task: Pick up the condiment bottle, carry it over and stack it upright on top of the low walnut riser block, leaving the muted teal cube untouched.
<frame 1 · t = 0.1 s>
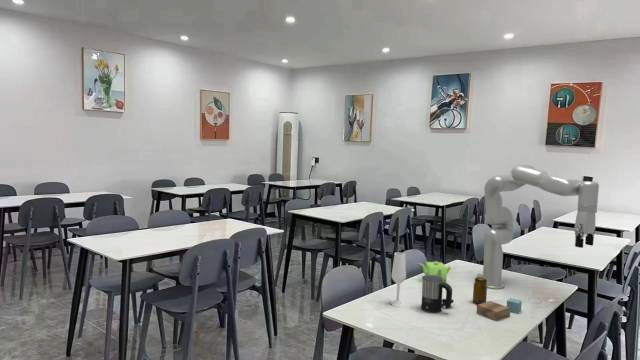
hand: (584, 246, 201), 31 cm above the table, fingers open, 9 cm apart
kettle: (434, 282, 243), on the table
milk frother: (436, 308, 204), on the table
walnut riser: (493, 315, 197), on the table
condiment: (480, 304, 211), on the table
champagne flute: (397, 304, 207), on the table
teal cube: (513, 311, 203), on the table
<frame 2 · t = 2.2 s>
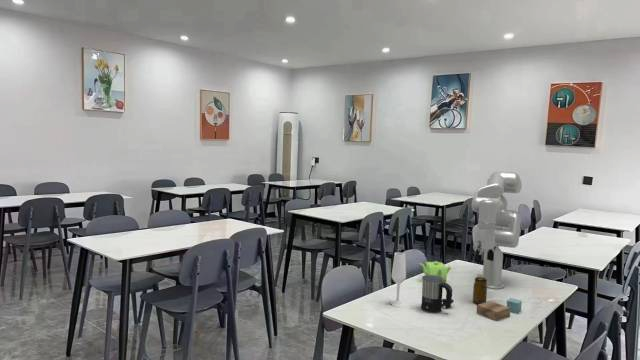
hand: (484, 261, 210), 21 cm above the table, fingers open, 9 cm apart
nothing on the table moved.
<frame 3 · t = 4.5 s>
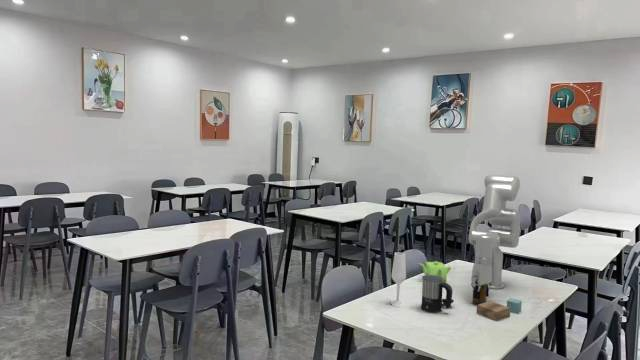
hand: (480, 297, 211), 3 cm above the table, fingers closed on condiment, 6 cm apart
condiment: (480, 304, 211), on the table, touching gripper
everything else where it was.
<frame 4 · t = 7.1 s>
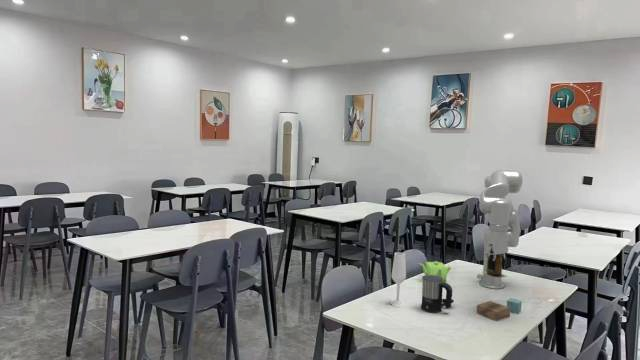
hand: (496, 267, 195), 21 cm above the table, fingers closed on condiment, 6 cm apart
condiment: (495, 275, 196), point 18 cm above the table, touching gripper
everything else where it was.
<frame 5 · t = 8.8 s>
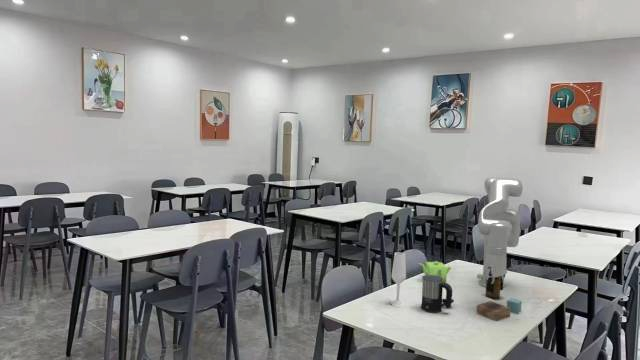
hand: (494, 290, 196), 11 cm above the table, fingers closed on condiment, 6 cm apart
condiment: (493, 297, 196), point 8 cm above the table, touching gripper
everything else where it was.
when the fingers open (8 cm above the table, at t = 9.9 s): condiment drops 1 cm, resting on walnut riser.
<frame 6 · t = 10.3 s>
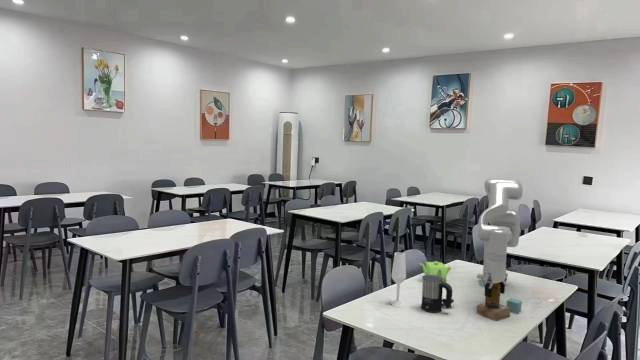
hand: (494, 294, 196), 9 cm above the table, fingers open, 9 cm apart
condiment: (493, 306, 197), point 4 cm above the table, touching walnut riser
everything else where it was.
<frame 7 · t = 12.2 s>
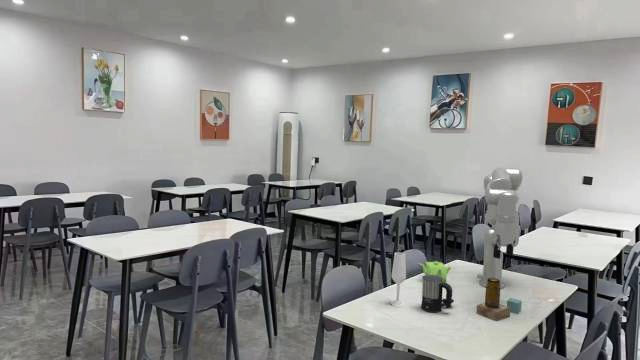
hand: (503, 256, 201), 25 cm above the table, fingers open, 9 cm apart
nothing on the table moved.
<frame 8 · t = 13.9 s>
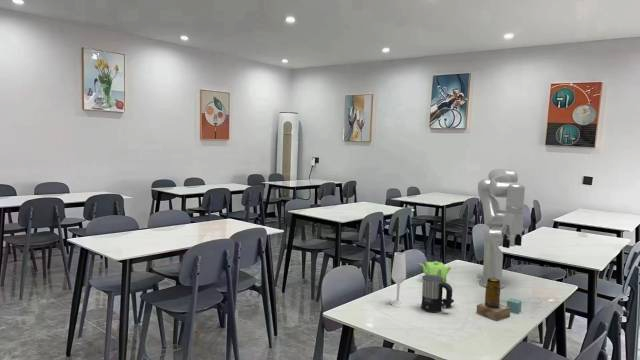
hand: (511, 246, 208), 28 cm above the table, fingers open, 9 cm apart
nothing on the table moved.
at the end: condiment inside the target area on the walnut riser (0.2 cm from its centre), point 3.8 cm above the walnut riser's base; condiment tilted 0°; the gripper is holding nothing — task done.
